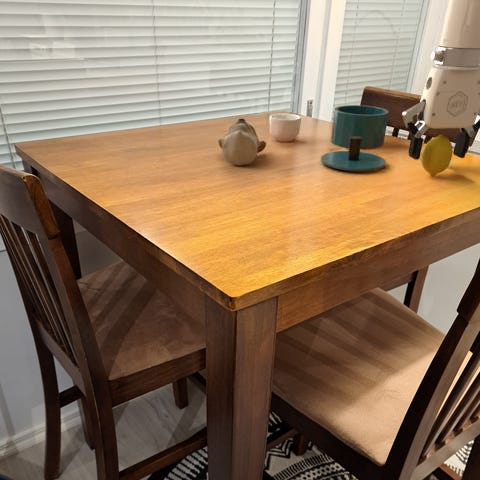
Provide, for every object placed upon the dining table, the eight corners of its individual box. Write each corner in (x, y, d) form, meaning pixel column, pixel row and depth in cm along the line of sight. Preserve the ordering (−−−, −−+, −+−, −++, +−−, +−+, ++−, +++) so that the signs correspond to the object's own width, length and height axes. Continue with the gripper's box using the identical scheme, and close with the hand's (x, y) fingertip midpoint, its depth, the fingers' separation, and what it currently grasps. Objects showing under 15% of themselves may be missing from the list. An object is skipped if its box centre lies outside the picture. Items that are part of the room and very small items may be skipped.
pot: (370, 135, 128) (375, 104, 124) (391, 148, 118) (397, 114, 113) (324, 137, 126) (327, 105, 122) (341, 150, 116) (345, 115, 111)
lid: (369, 154, 112) (373, 129, 109) (396, 172, 101) (401, 144, 98) (312, 157, 110) (314, 130, 107) (332, 175, 99) (336, 146, 96)
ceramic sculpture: (212, 122, 97) (220, 112, 110) (212, 167, 101) (219, 152, 114) (266, 124, 97) (268, 114, 110) (264, 169, 101) (265, 154, 114)
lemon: (435, 171, 102) (444, 130, 98) (452, 179, 98) (463, 137, 94) (412, 173, 101) (420, 132, 97) (429, 181, 97) (438, 139, 92)
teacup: (300, 143, 120) (302, 120, 117) (268, 143, 120) (269, 119, 117) (297, 134, 128) (299, 112, 125) (267, 133, 128) (268, 111, 125)
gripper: (424, 61, 84) (403, 163, 93) (515, 61, 86) (487, 160, 96) (404, 56, 90) (387, 153, 99) (490, 56, 92) (465, 150, 102)
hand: (436, 157), depth 97 cm, fingers open, 9 cm apart
